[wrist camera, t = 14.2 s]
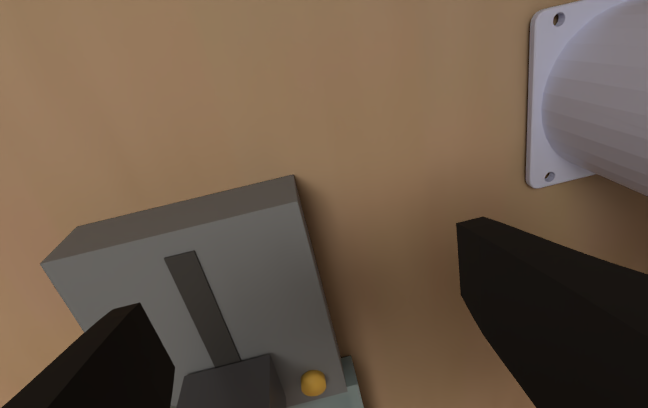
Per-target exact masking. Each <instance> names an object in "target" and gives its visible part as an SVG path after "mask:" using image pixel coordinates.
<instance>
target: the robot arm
mask: <svg viewBox="0 0 648 408" xmlns="http://www.w3.org/2000/svg"><path fill="white" fill-rule="evenodd" d="M556 14H558V17H559V19H558V22H557V24H556V25H555V26H554V25H553V18H554V16H555V15H556ZM549 172H550V174H549V176H548V177H547V178H545V175H546V174H547V173H549ZM595 174H598V175H600V176H602V177H605V178H607V179H609V180H611V181H614V182H616V183H618V184H620V185H623V186H625V187H627V188H629V189H632V190H634V191H636V192H639V193H641V194H643V195H645V196H648V0H579V1H575V2H571V3H567V4H562V5H558V6H554V7H549V8H545V9H542V10H539V11H538V12H537V13H535V14H534V16H533V18H532V19H531V24H530V49H529V83H528V118H527V152H526V183H527V184H528V185H529V186H531V187H533V188H535V189H536V188H542V187H546V186H550V185H554V184H558V183H562V182H566V181H570V180H575V179H579V178H583V177H587V176H591V175H595ZM456 226H457V242H458V258H459V273H460V289H461V296H462V298H463V300H464V301H465V303H466V305H467V307H468V309H469V311H470V313H471V314H472V316H473V318H474V320H475V321H476V323H477V325H478V327H479V328H480V330H481V332H482V334H483V335H484V336H485V338H486V339H487V341H488V342H489V343H490V345H491V346H492V348H493V349H494V350H495V352H496V353H497V354H498V356H499V357H500V359H501V360H502V361H503V363H504V364H505V366H506V367H507V368H508V370H509V371H510V372H511V374H512V375H513V376H514V378H515V379H516V381H517V382H518V383H519V385H520V386H521V387H522V389H523V390H524V391H525V393H526V394H527V395H528V397H529V398H530V400H531V401H532V402H533V404H534V405H535V406H536V408H648V274H644V273H641V272H638V271H635V270H632V269H629V268H626V267H623V266H619V265H616V264H613V263H610V262H607V261H604V260H601V259H598V258H596V257H593V256H590V255H587V254H584V253H581V252H578V251H576V250H573V249H570V248H567V247H565V246H562V245H559V244H557V243H554V242H551V241H549V240H546V239H543V238H541V237H538V236H535V235H533V234H530V233H527V232H525V231H522V230H519V229H517V228H514V227H511V226H509V225H506V224H503V223H501V222H498V221H495V220H492V219H488V218H485V217H480V218H476V219H472V220H468V221H464V222H460V223H456ZM174 374H175V366H174V364H173V362H172V360H171V359H170V357H169V355H168V353H167V351H166V349H165V347H164V346H163V344H162V342H161V340H160V338H159V336H158V334H157V333H156V331H155V329H154V327H153V325H152V323H151V322H150V320H149V318H148V316H147V314H146V312H145V310H144V309H143V307H142V305H141V303H140V302H139V303H135V304H131V305H127V306H123V307H119V308H115V309H112V310H111V311H110V312H108V313H107V314H106V315H105V316H103V317H102V318H101V319H100V320H98V321H97V322H96V323H95V324H94V325H93V326H91V327H90V328H89V329H88V330H87V331H86V332H85V333H83V334H82V335H81V336H80V337H79V338H78V339H77V340H76V341H75V342H74V343H72V344H71V345H70V346H69V347H68V348H67V349H66V350H65V351H64V352H63V353H62V354H60V355H59V356H58V357H57V358H56V359H55V360H54V361H53V362H52V363H51V364H49V365H48V366H47V367H46V368H45V369H44V370H43V371H42V372H41V373H40V374H39V375H37V376H36V377H35V378H34V379H33V380H32V381H31V382H30V383H29V384H28V385H26V386H25V387H24V388H23V389H22V390H21V391H20V392H19V393H18V394H17V395H15V396H14V397H13V398H12V399H11V400H10V401H9V402H7V403H6V404H5V405H4V406H3V407H2V408H170V406H171V399H172V392H173V383H174Z"/></svg>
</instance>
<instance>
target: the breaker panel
mask: <svg viewBox="0 0 648 408" xmlns="http://www.w3.org/2000/svg"><path fill="white" fill-rule="evenodd" d="M40 265H41V266H42V268H43V270H44V271H45V273H46V274H47V276H48V277H49V279H50V280H51V282H52V283H53V285H54V287H55V288H56V290H57V291H58V293H59V294H60V296H61V297H62V299H63V300H64V302H65V303H66V305H67V307H68V308H69V310H70V311H71V313H72V314H73V316H74V317H75V319H76V320H77V322H78V323H79V325H80V327H81V328H82V330H83V331H84V333H85V332H86V331H87V330H88V329H89V328H90V327H91V326H93V325H94V324H95V323H96V322H97V321H98V320H100V319H101V318H102V317H103V316H105V315H106V314H107V313H108V312H110V311H111V310H112V309H115V308H119V307H123V306H127V305H131V304H135V303H139V302H140V303H141V305H142V307H143V309H144V310H145V312H146V314H147V316H148V318H149V320H150V322H151V323H152V325H153V327H154V329H155V331H156V333H157V334H158V336H159V338H160V340H161V342H162V344H163V346H164V347H165V349H166V351H167V353H168V355H169V357H170V359H171V360H172V362H173V364H174V366H175V374H174V383H173V392H172V399H171V406H170V408H176V407H177V403H178V399H179V395H180V391H181V387H182V383H183V379H184V376H187V375H191V374H195V373H198V372H202V371H206V370H210V369H214V368H218V367H222V366H226V365H230V364H234V363H238V362H242V361H246V360H250V359H254V358H257V357H261V356H265V355H269V354H270V356H271V359H272V361H273V364H274V367H275V369H276V372H277V375H278V377H279V380H280V383H281V385H282V388H283V391H284V393H285V396H286V407H290V406H294V405H298V404H302V403H306V402H309V401H313V400H317V399H321V398H325V397H329V396H333V395H337V394H340V393H344V392H348V390H347V386H346V381H345V376H344V371H343V367H342V362H341V357H340V352H339V348H338V344H337V340H336V336H335V332H334V328H333V325H332V321H331V317H330V313H329V309H328V305H327V302H326V298H325V294H324V290H323V286H322V282H321V279H320V275H319V271H318V267H317V263H316V259H315V256H314V252H313V248H312V244H311V240H310V236H309V233H308V229H307V225H306V221H305V217H304V213H303V210H302V206H301V202H300V198H299V194H298V190H297V187H296V183H295V179H294V175H289V176H285V177H281V178H277V179H273V180H268V181H264V182H260V183H256V184H252V185H248V186H244V187H239V188H235V189H231V190H227V191H223V192H219V193H215V194H210V195H206V196H202V197H198V198H194V199H190V200H186V201H181V202H177V203H173V204H169V205H165V206H161V207H157V208H153V209H148V210H144V211H140V212H136V213H132V214H128V215H124V216H119V217H115V218H111V219H107V220H103V221H99V222H95V223H90V224H86V225H82V226H78V227H76V228H75V229H74V230H73V231H72V232H71V233H70V234H69V235H68V236H67V237H66V238H65V239H64V240H63V241H62V242H61V243H60V244H59V245H58V246H57V247H56V248H55V249H54V250H53V251H52V252H51V253H50V254H49V255H48V256H47V257H46V258H45V259H44V260H43V261H42V262H41V263H40Z"/></svg>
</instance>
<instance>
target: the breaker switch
mask: <svg viewBox="0 0 648 408" xmlns="http://www.w3.org/2000/svg"><path fill="white" fill-rule="evenodd" d="M176 408H286V396H285V393H284V391H283V388H282V385H281V383H280V380H279V377H278V375H277V372H276V369H275V367H274V364H273V361H272V359H271V356H270V354H269V355H265V356H261V357H257V358H254V359H250V360H246V361H242V362H238V363H234V364H230V365H226V366H222V367H218V368H214V369H210V370H206V371H202V372H198V373H195V374H191V375H187V376H184V379H183V383H182V387H181V391H180V395H179V399H178V403H177V407H176Z"/></svg>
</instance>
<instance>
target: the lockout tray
mask: <svg viewBox="0 0 648 408" xmlns="http://www.w3.org/2000/svg"><path fill="white" fill-rule="evenodd" d="M341 362H342V367H343V371H344V376H345V381H346V386H347V390H348V392H344V393H340V394H337V395H333V396H329V397H325V398H321V399H317V400H313V401H309V402H306V403H302V404H298V405H294V406H290V407H286V408H364V406H363V402H362V398H361V394H360V390H359V386H358V382H357V378H356V374H355V370H354V366H353V361H352V357H351V356H348V357H344V358H341Z"/></svg>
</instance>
